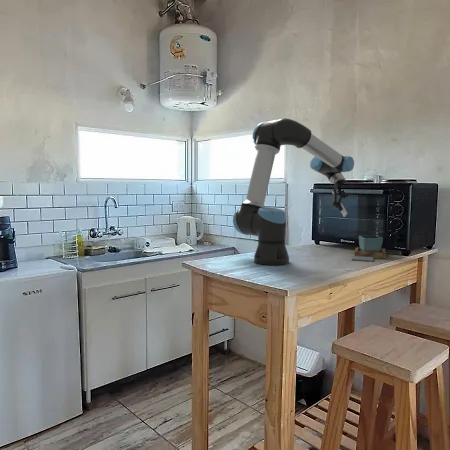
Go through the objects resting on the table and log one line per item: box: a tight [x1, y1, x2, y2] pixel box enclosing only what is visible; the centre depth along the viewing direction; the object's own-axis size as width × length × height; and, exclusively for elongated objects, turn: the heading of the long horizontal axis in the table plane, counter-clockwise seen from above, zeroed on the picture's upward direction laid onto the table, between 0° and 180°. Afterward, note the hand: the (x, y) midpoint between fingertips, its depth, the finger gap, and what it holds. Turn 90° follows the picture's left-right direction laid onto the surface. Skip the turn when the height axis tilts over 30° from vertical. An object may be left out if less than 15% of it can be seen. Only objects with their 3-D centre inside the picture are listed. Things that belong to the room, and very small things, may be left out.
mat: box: [351, 255, 374, 263], centre depth 183 cm, size 9×9×1 cm
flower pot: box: [358, 235, 384, 253], centre depth 192 cm, size 9×9×9 cm
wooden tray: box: [354, 247, 387, 260], centre depth 192 cm, size 13×13×2 cm
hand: (357, 214), depth 201 cm, fingers open, 13 cm apart
